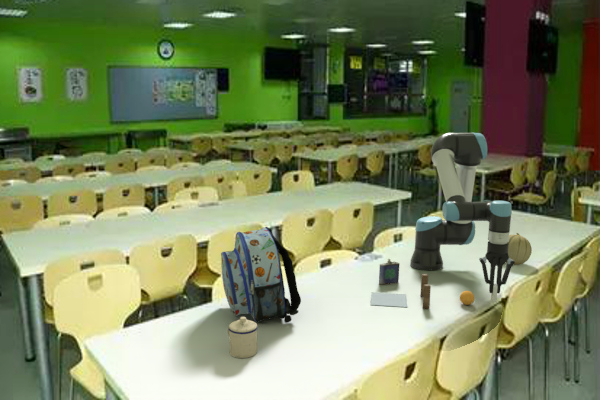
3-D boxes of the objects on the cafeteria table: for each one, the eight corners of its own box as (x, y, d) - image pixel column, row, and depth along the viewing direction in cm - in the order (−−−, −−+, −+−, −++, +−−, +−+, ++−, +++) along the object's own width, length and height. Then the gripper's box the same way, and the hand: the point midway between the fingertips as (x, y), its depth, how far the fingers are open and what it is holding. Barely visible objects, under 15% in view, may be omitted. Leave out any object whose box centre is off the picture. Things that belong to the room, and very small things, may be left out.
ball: (458, 301, 222) (459, 288, 221) (472, 302, 222) (473, 289, 220) (460, 306, 217) (461, 293, 216) (475, 307, 216) (476, 294, 215)
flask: (380, 285, 240) (381, 261, 238) (377, 283, 243) (378, 259, 241) (399, 283, 243) (400, 259, 241) (396, 281, 246) (397, 257, 244)
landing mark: (371, 292, 231) (371, 292, 231) (406, 294, 229) (406, 294, 229) (370, 305, 218) (370, 304, 218) (407, 307, 216) (407, 307, 216)
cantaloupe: (499, 267, 266) (501, 236, 263) (496, 258, 280) (498, 229, 277) (532, 270, 263) (535, 238, 260) (527, 261, 277) (530, 231, 274)
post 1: (420, 295, 229) (421, 273, 227) (426, 295, 229) (427, 274, 227) (420, 297, 227) (421, 275, 225) (427, 297, 226) (428, 276, 224)
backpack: (212, 300, 221) (210, 222, 215) (274, 292, 230) (274, 218, 224) (233, 334, 191) (231, 244, 185) (302, 323, 200) (303, 238, 194)
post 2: (422, 306, 217) (423, 284, 215) (429, 306, 216) (430, 284, 215) (422, 309, 214) (423, 286, 213) (429, 309, 214) (430, 286, 212)
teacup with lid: (263, 352, 178) (263, 317, 176) (241, 362, 171) (240, 326, 169) (239, 340, 186) (239, 307, 184) (217, 349, 180) (216, 314, 178)
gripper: (482, 243, 210) (477, 303, 215) (518, 245, 208) (513, 305, 213) (478, 238, 217) (474, 296, 222) (514, 240, 216) (509, 298, 220)
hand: (493, 300), depth 217 cm, fingers closed
